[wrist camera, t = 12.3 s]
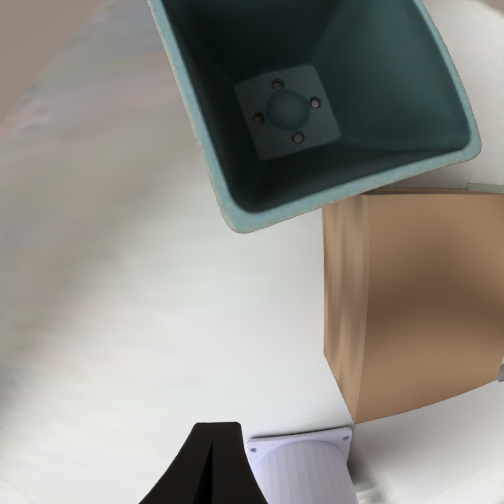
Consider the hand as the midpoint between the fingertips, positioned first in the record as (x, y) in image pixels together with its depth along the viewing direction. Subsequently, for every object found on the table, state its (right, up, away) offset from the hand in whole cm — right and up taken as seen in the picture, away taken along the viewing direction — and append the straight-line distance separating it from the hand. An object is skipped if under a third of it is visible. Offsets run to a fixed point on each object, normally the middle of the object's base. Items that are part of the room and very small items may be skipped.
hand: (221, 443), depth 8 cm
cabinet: (+10, +5, +9) cm, 14 cm away
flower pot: (+3, +14, +8) cm, 16 cm away
